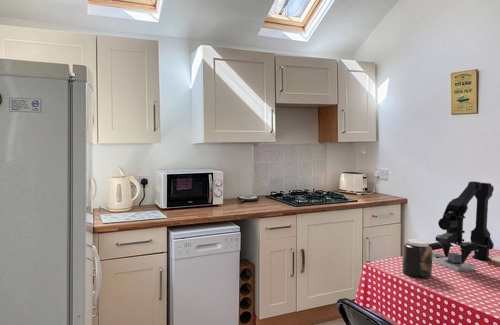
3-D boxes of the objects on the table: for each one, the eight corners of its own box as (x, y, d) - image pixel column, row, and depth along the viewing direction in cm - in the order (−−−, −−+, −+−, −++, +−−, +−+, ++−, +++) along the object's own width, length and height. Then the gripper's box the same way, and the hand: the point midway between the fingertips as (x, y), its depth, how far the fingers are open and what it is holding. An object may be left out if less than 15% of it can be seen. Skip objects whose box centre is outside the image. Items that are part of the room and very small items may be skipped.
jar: (402, 276, 157) (404, 242, 156) (402, 268, 168) (403, 236, 167) (432, 280, 153) (434, 246, 152) (430, 272, 163) (431, 239, 163)
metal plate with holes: (434, 255, 191) (434, 251, 191) (474, 269, 168) (475, 265, 168) (419, 256, 188) (419, 252, 188) (458, 271, 165) (458, 267, 165)
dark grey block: (453, 264, 176) (454, 252, 176) (460, 267, 172) (461, 254, 172) (447, 265, 175) (448, 253, 174) (454, 267, 171) (455, 255, 170)
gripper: (427, 224, 179) (426, 255, 180) (459, 233, 161) (458, 267, 162) (445, 223, 182) (443, 253, 183) (478, 232, 165) (476, 265, 165)
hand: (454, 259), depth 173 cm, fingers open, 9 cm apart
